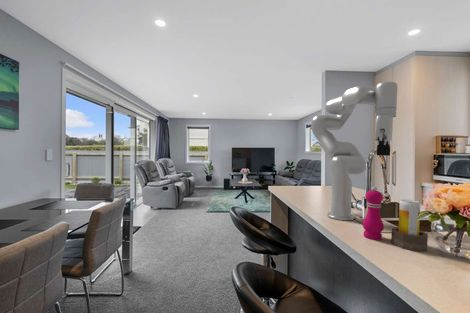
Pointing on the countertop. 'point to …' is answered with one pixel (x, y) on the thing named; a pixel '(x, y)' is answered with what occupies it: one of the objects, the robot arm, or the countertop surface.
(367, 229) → the pepper mill
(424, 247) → the socket
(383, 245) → the countertop surface
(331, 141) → the robot arm
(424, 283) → the countertop surface
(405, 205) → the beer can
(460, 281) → the countertop surface
